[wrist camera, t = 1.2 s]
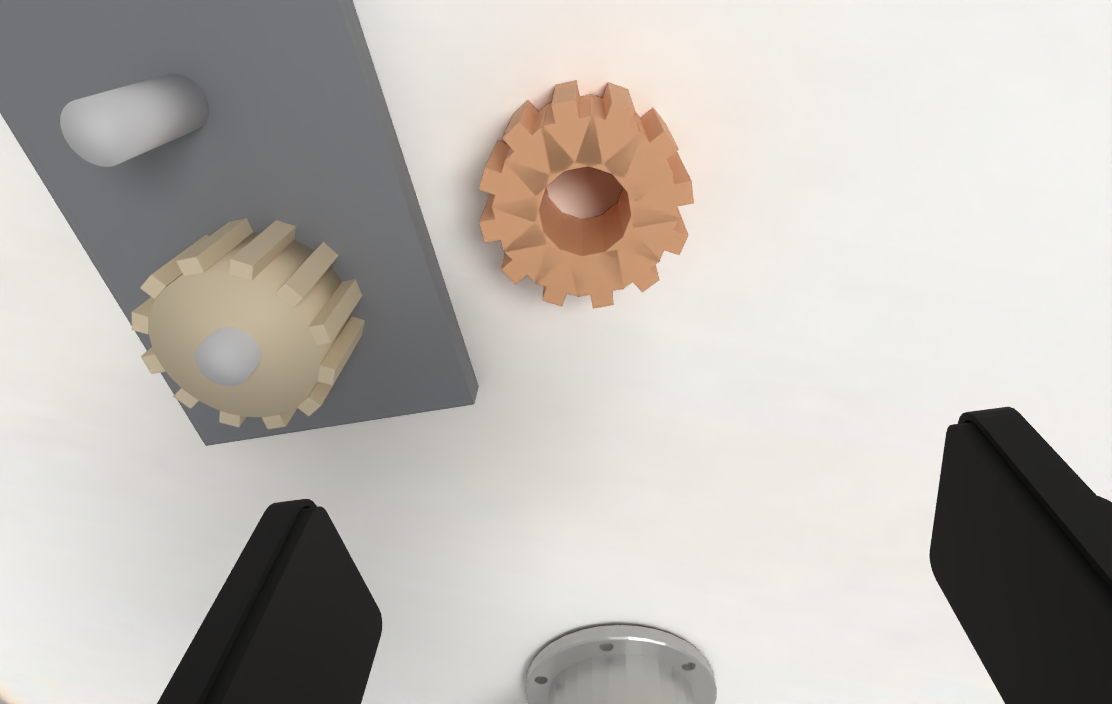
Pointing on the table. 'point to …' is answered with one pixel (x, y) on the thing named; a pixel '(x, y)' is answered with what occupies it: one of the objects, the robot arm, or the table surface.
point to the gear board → (240, 204)
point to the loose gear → (598, 242)
